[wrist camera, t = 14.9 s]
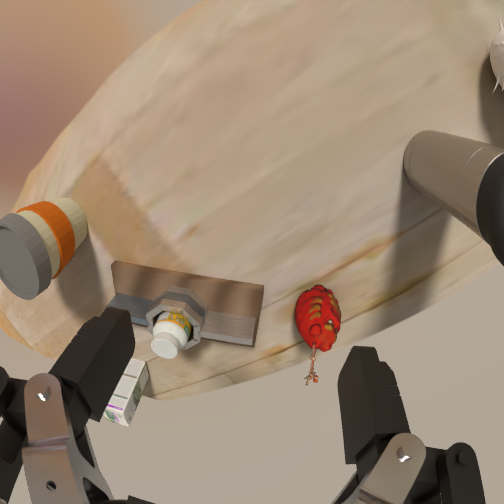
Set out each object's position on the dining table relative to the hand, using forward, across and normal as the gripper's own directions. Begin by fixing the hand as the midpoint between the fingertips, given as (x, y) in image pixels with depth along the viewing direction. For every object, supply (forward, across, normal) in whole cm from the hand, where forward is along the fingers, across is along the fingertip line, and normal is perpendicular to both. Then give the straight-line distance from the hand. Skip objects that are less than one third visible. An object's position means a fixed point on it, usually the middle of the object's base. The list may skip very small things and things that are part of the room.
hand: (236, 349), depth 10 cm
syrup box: (+30, +23, +44) cm, 58 cm away
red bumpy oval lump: (+30, -10, +19) cm, 37 cm away
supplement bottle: (+29, +11, +23) cm, 38 cm away
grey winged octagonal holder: (+29, +11, +23) cm, 38 cm away
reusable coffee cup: (+30, +33, +11) cm, 46 cm away
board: (+30, +11, +23) cm, 39 cm away
